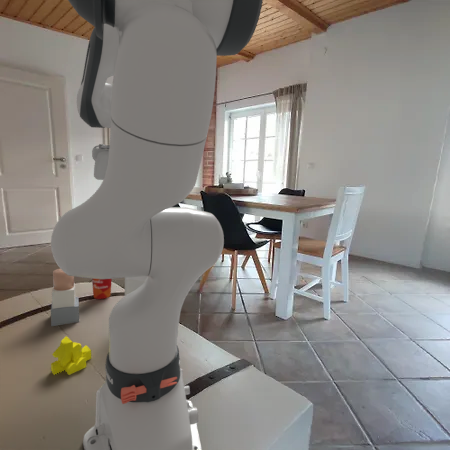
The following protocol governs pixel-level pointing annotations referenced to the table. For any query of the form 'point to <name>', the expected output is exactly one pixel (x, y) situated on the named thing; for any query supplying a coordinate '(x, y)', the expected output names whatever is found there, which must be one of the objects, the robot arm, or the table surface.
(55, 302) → the tower top block
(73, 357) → the yellow crystal cluster
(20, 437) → the table surface
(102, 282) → the paper cup
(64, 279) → the peach rounded cylinder
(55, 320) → the tower base block
